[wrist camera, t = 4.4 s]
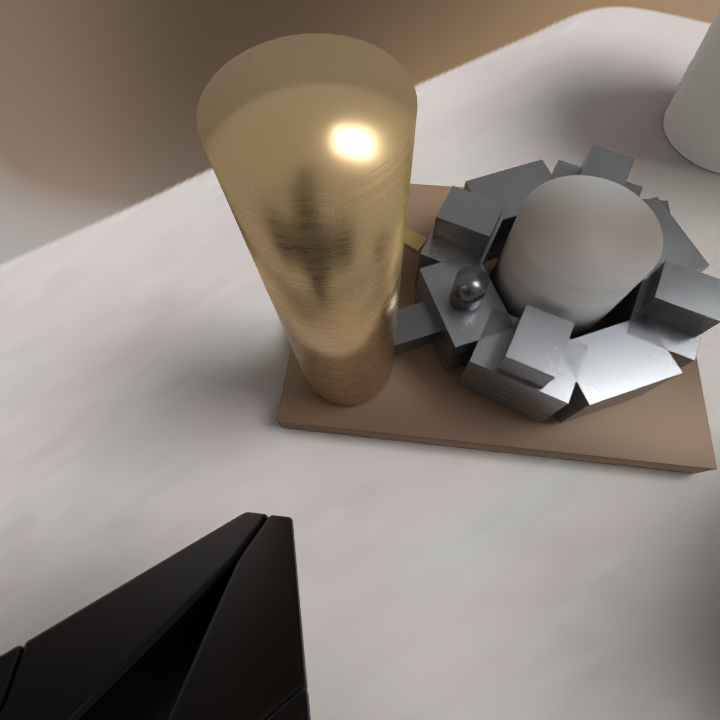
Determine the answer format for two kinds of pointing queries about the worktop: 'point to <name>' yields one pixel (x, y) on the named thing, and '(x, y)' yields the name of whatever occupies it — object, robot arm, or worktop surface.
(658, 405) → the mount board
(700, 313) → the desk sculpture ornament
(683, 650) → the worktop surface
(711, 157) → the dixie cup
